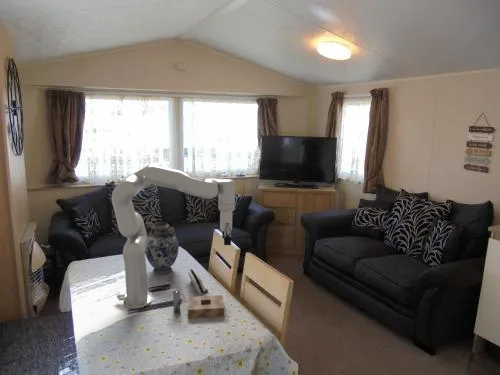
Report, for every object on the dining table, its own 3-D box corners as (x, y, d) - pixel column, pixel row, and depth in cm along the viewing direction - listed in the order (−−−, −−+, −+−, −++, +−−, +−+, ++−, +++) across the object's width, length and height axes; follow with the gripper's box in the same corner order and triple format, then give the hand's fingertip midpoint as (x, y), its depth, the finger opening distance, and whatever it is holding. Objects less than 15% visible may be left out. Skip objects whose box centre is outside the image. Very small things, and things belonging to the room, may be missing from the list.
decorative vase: (188, 269, 219) (186, 222, 213) (164, 281, 204) (162, 231, 198) (161, 261, 230) (158, 216, 225) (137, 272, 215) (134, 224, 209)
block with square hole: (187, 318, 168) (187, 310, 167) (188, 304, 180) (188, 296, 179) (224, 316, 170) (224, 307, 170) (222, 302, 182) (222, 295, 181)
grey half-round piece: (208, 292, 193) (202, 275, 189) (200, 296, 191) (193, 280, 188) (200, 278, 208) (193, 263, 204) (192, 282, 206) (185, 267, 203)
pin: (173, 313, 172) (172, 293, 170) (173, 310, 175) (173, 290, 173) (180, 313, 172) (179, 292, 170) (180, 310, 175) (180, 289, 173)
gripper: (217, 201, 185) (217, 235, 188) (219, 211, 168) (219, 248, 171) (232, 201, 186) (232, 235, 189) (236, 210, 169) (236, 247, 172)
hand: (226, 241), depth 180 cm, fingers open, 9 cm apart
